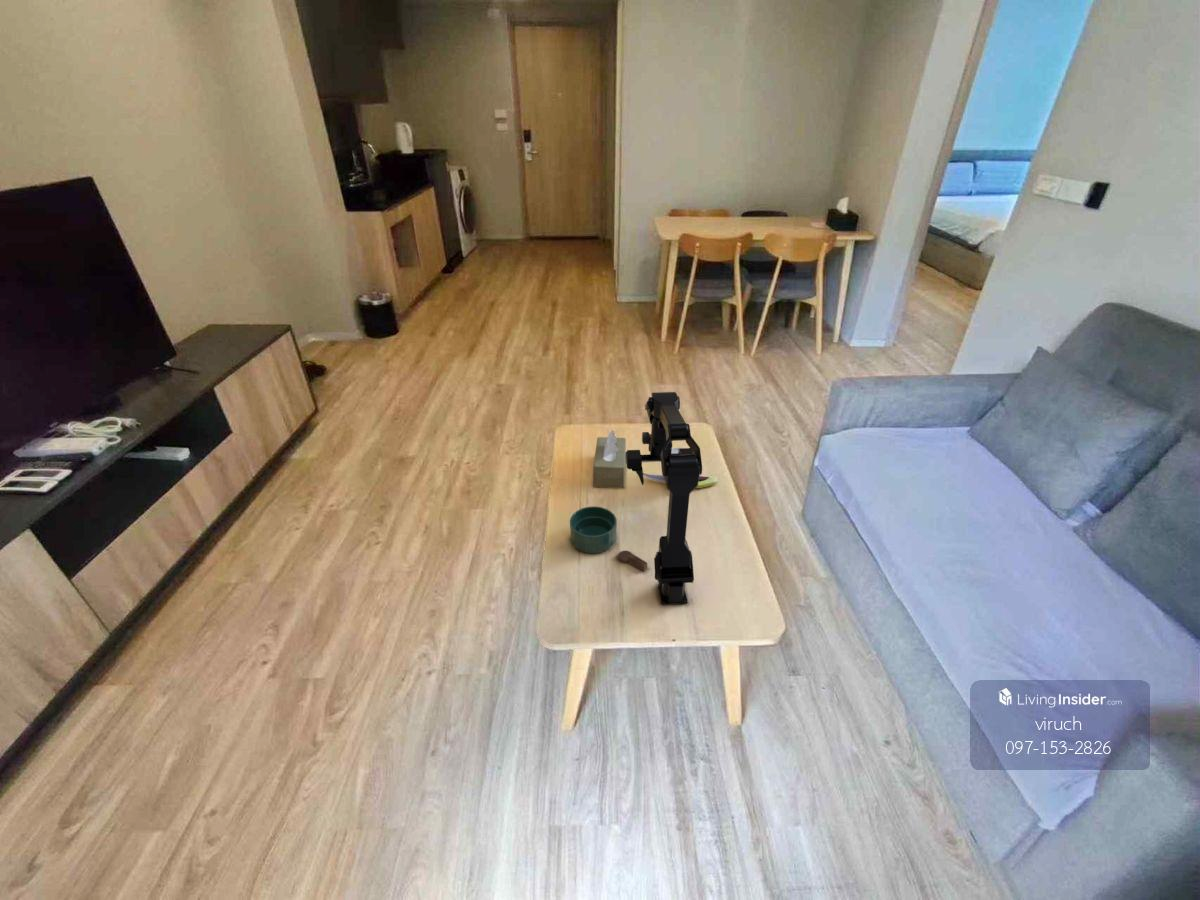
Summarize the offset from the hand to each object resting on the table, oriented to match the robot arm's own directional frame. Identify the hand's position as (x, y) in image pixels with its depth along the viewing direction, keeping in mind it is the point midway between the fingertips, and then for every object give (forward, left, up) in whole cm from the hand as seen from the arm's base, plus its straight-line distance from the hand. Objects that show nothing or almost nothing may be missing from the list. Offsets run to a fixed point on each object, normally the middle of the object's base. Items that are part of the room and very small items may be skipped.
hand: (658, 483), depth 150 cm
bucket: (-6, +19, -14) cm, 24 cm away
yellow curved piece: (+20, -10, -15) cm, 27 cm away
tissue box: (+27, +12, -15) cm, 33 cm away
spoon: (-16, +9, -14) cm, 23 cm away
